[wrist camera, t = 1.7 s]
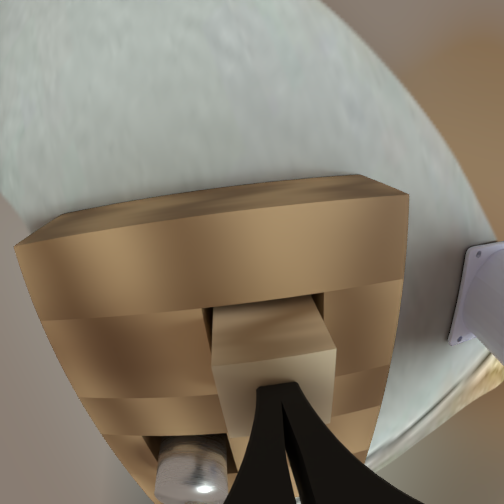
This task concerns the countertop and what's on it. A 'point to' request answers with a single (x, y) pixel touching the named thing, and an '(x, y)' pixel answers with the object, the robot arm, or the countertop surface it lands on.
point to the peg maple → (270, 356)
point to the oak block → (216, 301)
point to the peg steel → (192, 469)
